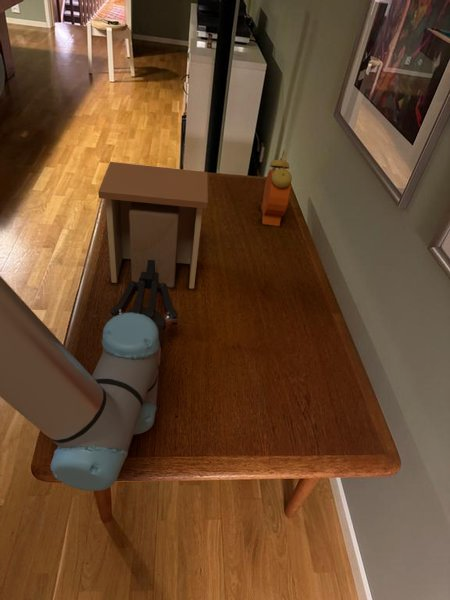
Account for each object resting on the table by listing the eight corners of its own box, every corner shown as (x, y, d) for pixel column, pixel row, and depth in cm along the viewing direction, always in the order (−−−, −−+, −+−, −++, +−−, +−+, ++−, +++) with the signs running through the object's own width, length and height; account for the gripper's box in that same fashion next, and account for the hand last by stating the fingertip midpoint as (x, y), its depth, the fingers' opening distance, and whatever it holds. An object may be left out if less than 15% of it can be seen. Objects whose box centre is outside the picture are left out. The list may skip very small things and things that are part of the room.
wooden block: (131, 285, 94) (128, 210, 81) (136, 259, 102) (135, 187, 88) (174, 288, 95) (178, 215, 82) (176, 262, 103) (180, 192, 89)
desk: (197, 294, 95) (208, 202, 79) (106, 287, 93) (98, 191, 76) (197, 260, 105) (207, 172, 88) (115, 253, 102) (110, 161, 86)
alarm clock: (281, 229, 122) (298, 166, 108) (261, 226, 121) (276, 163, 108) (278, 207, 131) (293, 147, 118) (259, 204, 131) (273, 144, 117)
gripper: (103, 358, 73) (121, 275, 90) (175, 362, 74) (180, 279, 92) (100, 330, 68) (120, 248, 85) (177, 334, 69) (182, 253, 86)
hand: (151, 264), depth 88 cm, fingers closed
